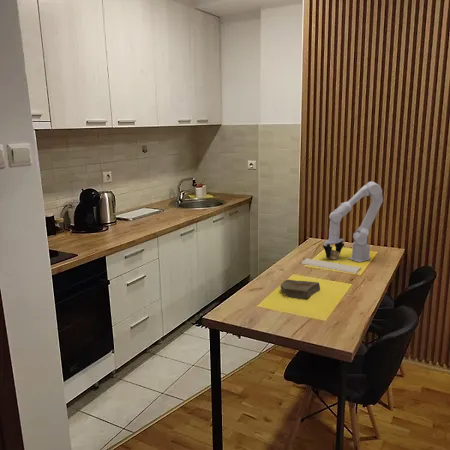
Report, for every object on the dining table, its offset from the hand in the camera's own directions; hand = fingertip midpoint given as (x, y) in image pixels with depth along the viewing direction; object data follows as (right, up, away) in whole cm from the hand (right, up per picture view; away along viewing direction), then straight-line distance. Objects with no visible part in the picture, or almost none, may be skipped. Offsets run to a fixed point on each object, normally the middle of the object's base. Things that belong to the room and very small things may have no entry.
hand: (332, 256), depth 241 cm
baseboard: (-5, -5, -13) cm, 15 cm away
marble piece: (-28, -13, -48) cm, 57 cm away
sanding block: (0, -2, 0) cm, 2 cm away
